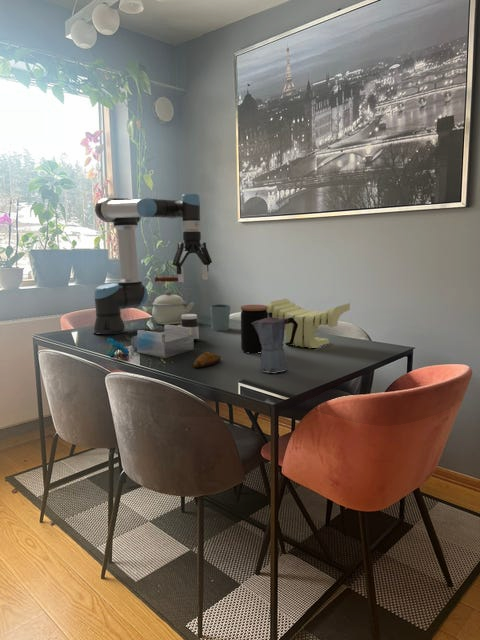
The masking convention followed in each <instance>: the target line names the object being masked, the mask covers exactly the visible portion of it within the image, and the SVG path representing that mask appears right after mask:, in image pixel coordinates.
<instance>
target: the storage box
mask: <svg viewBox="0 0 480 640" xmlns="http://www.w3.org/2000/svg"><path fill="white" fill-rule="evenodd" d="M130 339H131V340H130V345H131V347H132V349H133V350H134V351H136V353H139V354H142V355H143V354H144V355H149V356H154V357H158V358H163V359H164V358H165V359H166V358H169V357H173V356H177V355H180V354H184V353H188V352H190V351H193V350H194V349H195V348H194V347H195V346H194V342H193V335H192V333H191V328H189V327H182V326H178V325H176V324H171V325H164V331H159V330H156V331H149V330H144V329H143V330H142V329H140V330H137V335H133V336H132V337H131V338H130Z"/></svg>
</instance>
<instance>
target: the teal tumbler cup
mask: <svg viewBox="0 0 480 640" xmlns="http://www.w3.org/2000/svg"><path fill="white" fill-rule="evenodd" d="M209 312H210V321H211V322H210V323H211V324H210V325H211V331H214V332H225V331H228V330H229V329H230V315H231V305H230V304H225V303H223V304H220V303H219V304H218V303H217V304H211V305H209Z"/></svg>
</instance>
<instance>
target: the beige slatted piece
mask: <svg viewBox="0 0 480 640" xmlns="http://www.w3.org/2000/svg"><path fill="white" fill-rule="evenodd" d="M267 306H268V309H267V312H268V313H270V312H271V313H273V314H272V317H274V318H279V319H284V318H287V319H288V318H291V317H292V318H293V319H294V320H295V321H296V322H297V324H298V327H297V330H296V333H295V337H294V340H293V344H292V345H293V346H292V347H297V346H300V347H299V348H304V347H308V348H307V349H311V348H315V347H318V346H320V345H323V344H326V343H329V342H330V340H329V338H323V337H318V336H317V337H316V333H317V330H318V329H319V327H320V326H328V327H330V328H334V327H337V326H338V321H339V319H340V316H342V315H343V314H345V313H346V312H348V311H350V307H351V303H346V304H343V305H338V306H336V307H333V308H331V309H330V308H329V310H327V311H316V310H315V311H314V310H312V311H311V310H310V309H306V308H302V307H301V306H299V305H296V304H295V303H293V302H291V301H290V300H289V299H287V298H282V299H278V300H274V301H270V302H269V303H268V304H267ZM268 317H269V316H268ZM293 327H294V324H293V323H289V324H285V330H284V333H285V336H286V339H285V340H286V343H288V342H290V339H291V335H292V331H293ZM294 345H295V346H294Z"/></svg>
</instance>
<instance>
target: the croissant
mask: <svg viewBox="0 0 480 640" xmlns="http://www.w3.org/2000/svg"><path fill="white" fill-rule="evenodd" d="M219 362H221V355H219V354H217V353H212V352H210V351H205V352H203V353H201V354H200V355H199V356H198V357H197V358H196V359H195V360H194V362H193V368H195V369H198V368H205V367H208V366H213V365H215V364H216V363H219Z"/></svg>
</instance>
